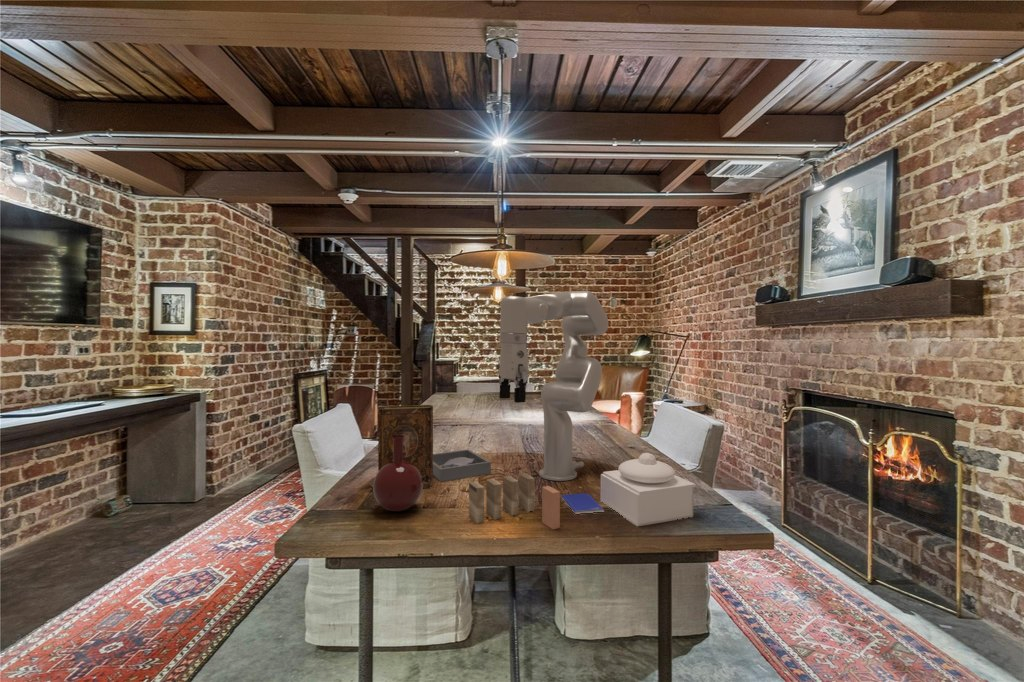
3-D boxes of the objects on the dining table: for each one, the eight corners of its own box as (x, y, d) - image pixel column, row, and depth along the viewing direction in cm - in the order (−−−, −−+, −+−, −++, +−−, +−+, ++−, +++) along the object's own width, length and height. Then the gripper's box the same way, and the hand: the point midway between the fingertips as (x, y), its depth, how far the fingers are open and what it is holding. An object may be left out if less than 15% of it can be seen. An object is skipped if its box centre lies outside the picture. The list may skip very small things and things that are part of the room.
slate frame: (468, 459, 174) (468, 449, 174) (490, 473, 157) (490, 462, 157) (422, 466, 166) (422, 455, 165) (440, 481, 149) (440, 469, 149)
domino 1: (476, 515, 122) (476, 481, 122) (484, 522, 118) (484, 487, 117) (468, 516, 121) (468, 482, 121) (476, 523, 117) (476, 488, 116)
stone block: (439, 480, 156) (467, 476, 154) (437, 466, 157) (464, 462, 155) (451, 471, 168) (477, 467, 166) (449, 458, 168) (475, 454, 166)
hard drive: (604, 508, 124) (588, 492, 136) (575, 511, 122) (561, 494, 135) (604, 514, 124) (588, 498, 136) (575, 516, 122) (561, 500, 135)
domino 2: (493, 511, 124) (492, 478, 124) (501, 518, 120) (501, 483, 120) (486, 513, 123) (486, 479, 123) (494, 519, 119) (494, 485, 119)
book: (432, 482, 148) (432, 404, 148) (433, 488, 143) (433, 407, 142) (379, 485, 145) (379, 406, 144) (378, 491, 140) (377, 409, 139)
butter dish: (600, 502, 132) (600, 447, 131) (653, 495, 138) (653, 442, 137) (637, 527, 115) (637, 464, 115) (695, 517, 121) (696, 457, 121)
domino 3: (509, 508, 127) (509, 475, 127) (518, 514, 122) (518, 480, 122) (502, 509, 126) (502, 476, 126) (511, 516, 121) (511, 482, 121)
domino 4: (525, 505, 129) (525, 473, 129) (534, 511, 125) (534, 478, 125) (518, 506, 128) (518, 474, 128) (528, 512, 124) (528, 479, 124)
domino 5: (548, 520, 119) (548, 485, 118) (559, 527, 114) (559, 491, 114) (542, 522, 118) (542, 487, 118) (552, 529, 113) (553, 493, 113)
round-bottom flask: (363, 510, 125) (363, 437, 125) (404, 497, 135) (404, 429, 135) (391, 524, 116) (391, 445, 116) (432, 508, 126) (432, 436, 126)
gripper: (539, 340, 126) (538, 403, 126) (511, 340, 141) (510, 396, 141) (514, 339, 122) (513, 404, 122) (489, 339, 138) (488, 397, 138)
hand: (512, 400), depth 132 cm, fingers open, 9 cm apart
